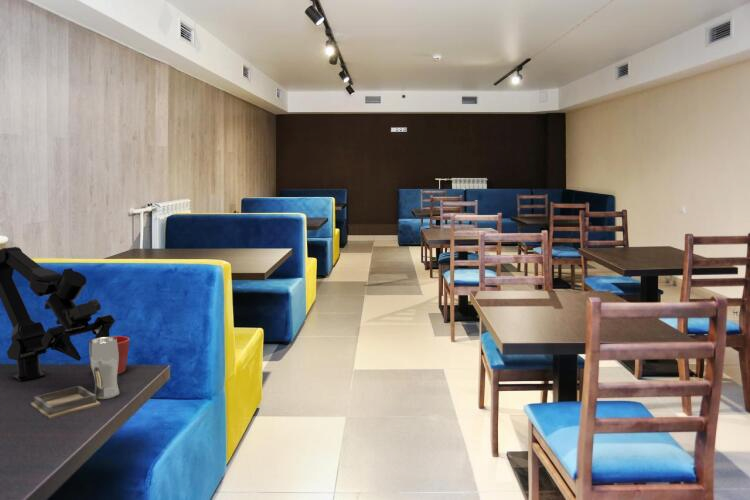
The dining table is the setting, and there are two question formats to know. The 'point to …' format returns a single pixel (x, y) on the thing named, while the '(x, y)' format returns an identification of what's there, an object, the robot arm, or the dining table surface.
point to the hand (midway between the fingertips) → (95, 355)
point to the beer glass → (104, 366)
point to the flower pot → (122, 352)
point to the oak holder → (64, 401)
